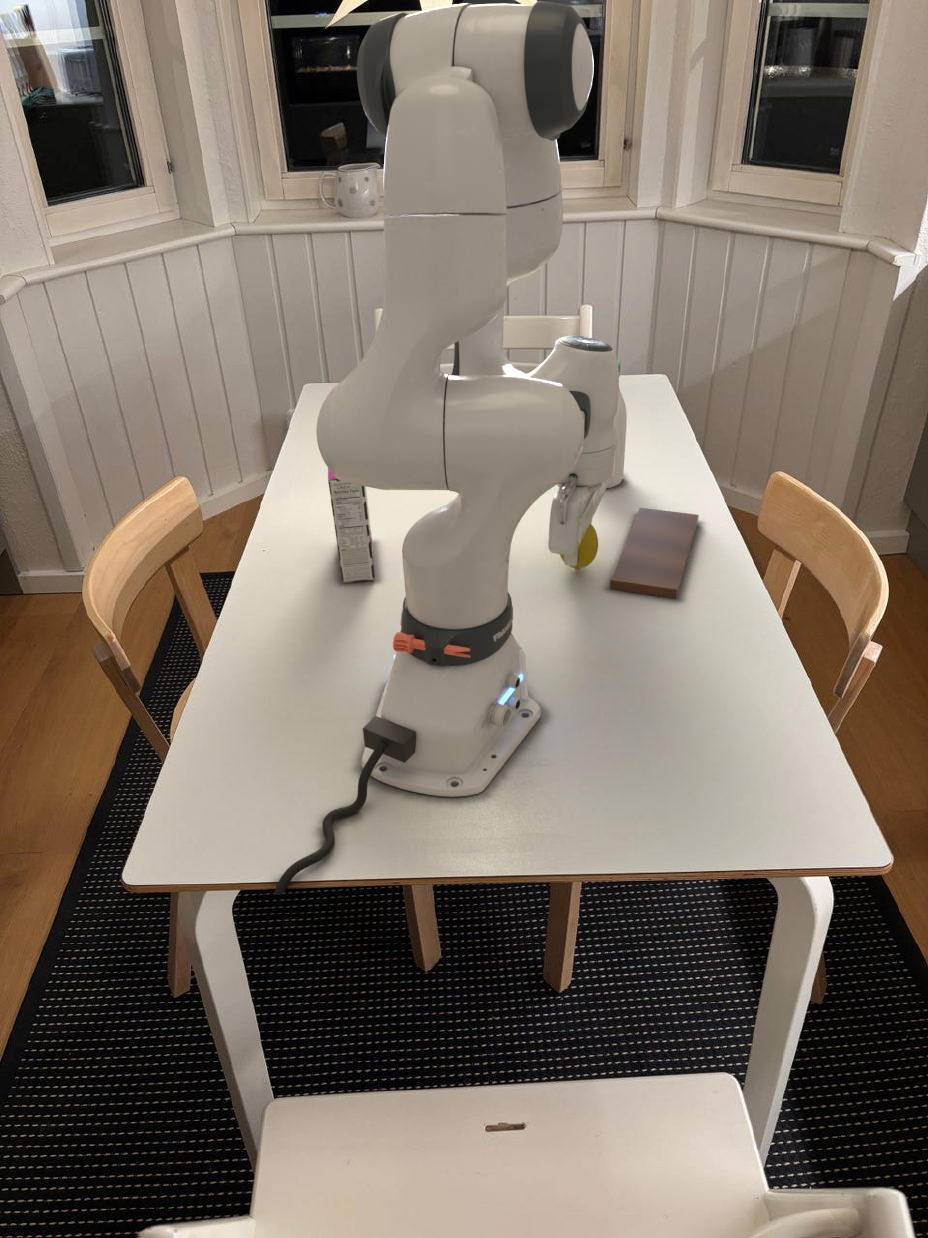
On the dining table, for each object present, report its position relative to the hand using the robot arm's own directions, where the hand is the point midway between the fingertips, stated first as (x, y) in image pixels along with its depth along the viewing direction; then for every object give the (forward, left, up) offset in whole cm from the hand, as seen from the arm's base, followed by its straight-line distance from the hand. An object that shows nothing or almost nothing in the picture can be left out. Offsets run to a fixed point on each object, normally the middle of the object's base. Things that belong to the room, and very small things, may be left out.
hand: (577, 550), depth 133 cm
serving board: (+7, -10, -3) cm, 13 cm away
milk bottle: (+29, +3, -3) cm, 29 cm away
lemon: (0, 0, -3) cm, 3 cm away
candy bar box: (-7, +31, -3) cm, 32 cm away
